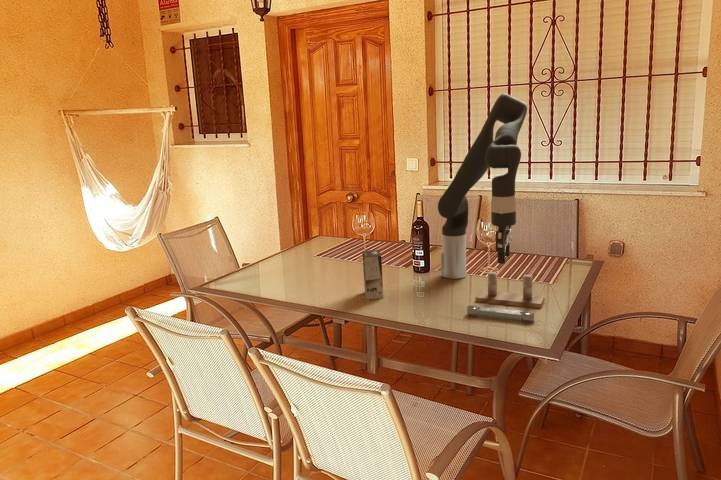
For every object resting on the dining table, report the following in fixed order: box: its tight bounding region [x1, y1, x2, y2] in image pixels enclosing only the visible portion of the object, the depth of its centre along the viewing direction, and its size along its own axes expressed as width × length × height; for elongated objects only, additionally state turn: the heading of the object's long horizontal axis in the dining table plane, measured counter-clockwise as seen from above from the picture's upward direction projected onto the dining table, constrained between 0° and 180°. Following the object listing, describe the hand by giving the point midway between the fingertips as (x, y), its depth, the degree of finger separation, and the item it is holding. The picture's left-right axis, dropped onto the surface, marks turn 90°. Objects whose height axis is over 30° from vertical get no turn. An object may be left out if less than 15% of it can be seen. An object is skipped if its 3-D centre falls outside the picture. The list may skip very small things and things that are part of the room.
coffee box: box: [362, 249, 384, 300], centre depth 214 cm, size 9×6×16 cm
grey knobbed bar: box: [466, 304, 535, 324], centre depth 189 cm, size 21×4×2 cm, turn 65°
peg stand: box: [475, 271, 545, 309], centre depth 202 cm, size 22×8×10 cm, turn 65°
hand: (503, 259), depth 186 cm, fingers open, 8 cm apart
